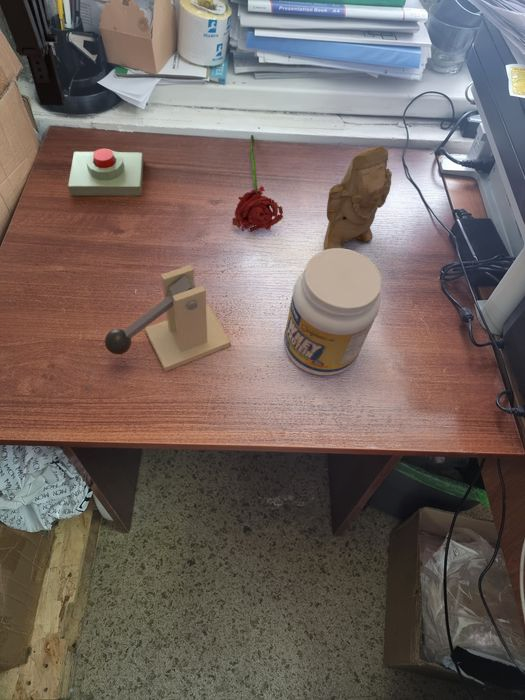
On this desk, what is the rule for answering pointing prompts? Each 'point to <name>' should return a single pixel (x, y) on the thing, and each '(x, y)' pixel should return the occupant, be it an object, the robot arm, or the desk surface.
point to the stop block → (106, 175)
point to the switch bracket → (186, 325)
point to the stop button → (103, 158)
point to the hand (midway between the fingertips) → (52, 101)
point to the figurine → (358, 198)
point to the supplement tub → (332, 311)
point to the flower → (256, 207)
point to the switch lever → (144, 319)
